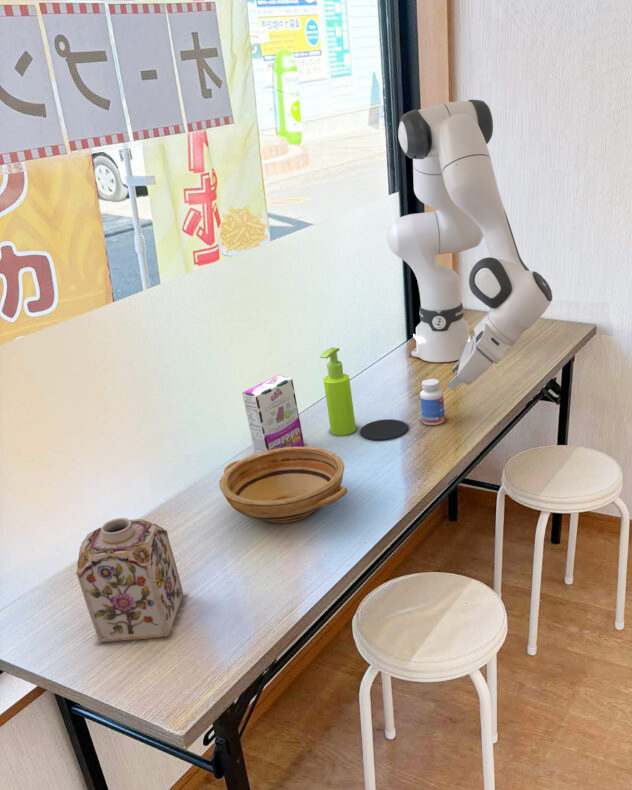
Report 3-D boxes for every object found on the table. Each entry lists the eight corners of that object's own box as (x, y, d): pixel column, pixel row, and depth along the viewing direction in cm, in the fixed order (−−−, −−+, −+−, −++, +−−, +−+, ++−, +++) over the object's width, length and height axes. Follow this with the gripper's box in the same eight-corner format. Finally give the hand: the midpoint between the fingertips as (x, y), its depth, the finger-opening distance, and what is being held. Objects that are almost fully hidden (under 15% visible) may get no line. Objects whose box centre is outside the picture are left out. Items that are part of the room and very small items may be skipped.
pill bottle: (445, 424, 198) (442, 385, 193) (422, 426, 198) (418, 387, 194) (444, 415, 203) (442, 376, 198) (422, 417, 203) (419, 378, 198)
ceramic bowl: (192, 519, 168) (183, 484, 165) (274, 468, 185) (268, 435, 182) (305, 556, 153) (298, 518, 149) (384, 497, 170) (380, 461, 166)
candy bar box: (289, 440, 198) (277, 374, 190) (304, 445, 195) (293, 377, 187) (254, 460, 190) (240, 391, 182) (269, 464, 187) (256, 395, 180)
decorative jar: (186, 595, 145) (161, 503, 137) (171, 637, 135) (144, 541, 126) (116, 601, 145) (88, 510, 137) (96, 644, 135) (64, 548, 126)
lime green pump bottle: (323, 435, 199) (311, 353, 189) (339, 423, 204) (328, 343, 194) (345, 438, 196) (333, 356, 186) (360, 426, 201) (350, 345, 192)
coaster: (365, 421, 204) (365, 419, 204) (410, 420, 202) (410, 419, 202) (356, 441, 194) (355, 439, 194) (403, 440, 192) (403, 438, 192)
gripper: (486, 313, 197) (447, 354, 203) (479, 342, 179) (436, 387, 185) (506, 331, 198) (467, 372, 204) (501, 361, 180) (458, 405, 187)
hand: (452, 379), depth 195 cm, fingers open, 8 cm apart
